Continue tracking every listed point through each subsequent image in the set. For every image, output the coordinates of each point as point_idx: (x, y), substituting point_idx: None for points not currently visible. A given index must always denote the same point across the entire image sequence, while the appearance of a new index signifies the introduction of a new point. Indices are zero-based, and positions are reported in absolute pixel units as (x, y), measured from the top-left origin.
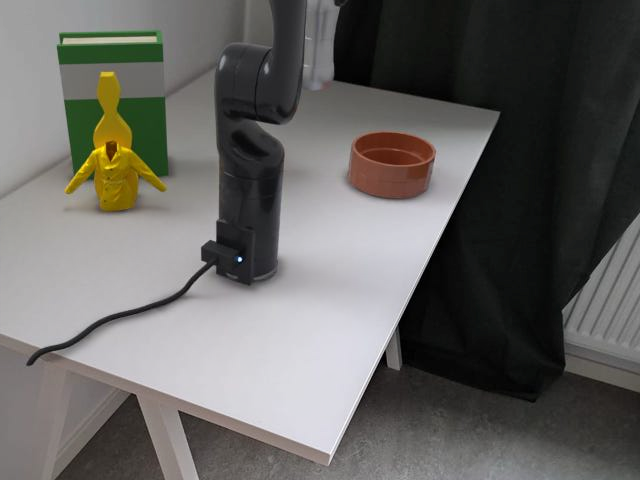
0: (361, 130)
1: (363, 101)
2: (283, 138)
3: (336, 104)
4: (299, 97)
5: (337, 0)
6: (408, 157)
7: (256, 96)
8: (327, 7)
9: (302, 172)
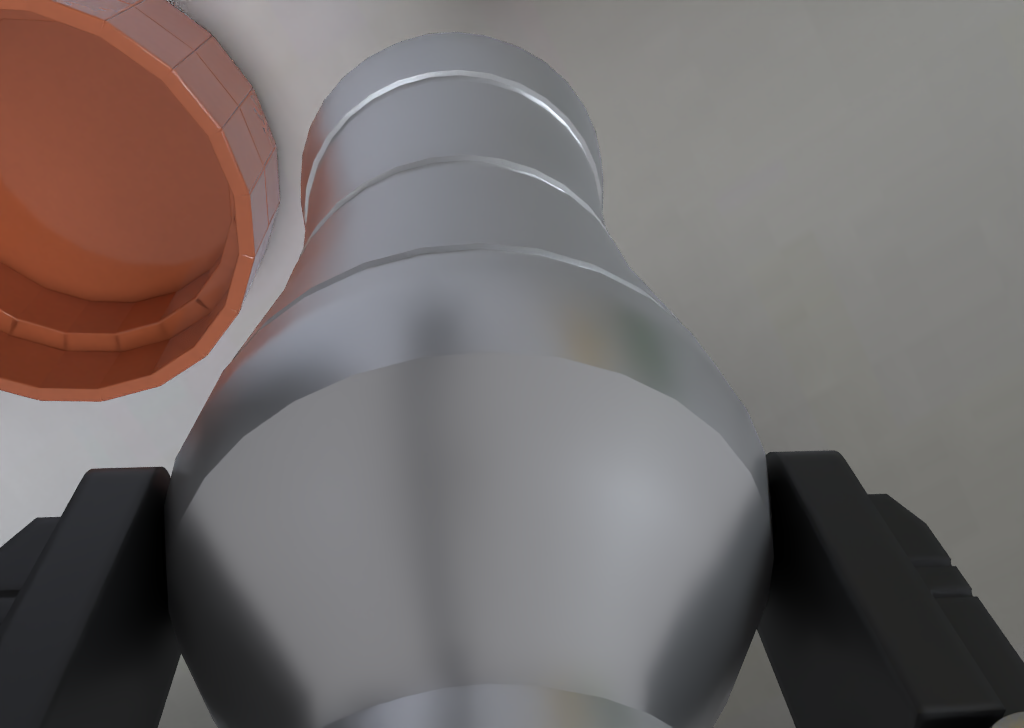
0: None
1: None
2: (690, 277)
3: None
4: None
5: (118, 507)
6: (75, 323)
7: None
8: (243, 354)
9: (455, 10)
